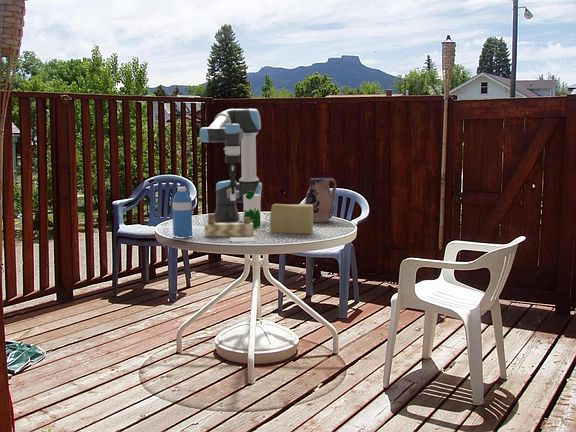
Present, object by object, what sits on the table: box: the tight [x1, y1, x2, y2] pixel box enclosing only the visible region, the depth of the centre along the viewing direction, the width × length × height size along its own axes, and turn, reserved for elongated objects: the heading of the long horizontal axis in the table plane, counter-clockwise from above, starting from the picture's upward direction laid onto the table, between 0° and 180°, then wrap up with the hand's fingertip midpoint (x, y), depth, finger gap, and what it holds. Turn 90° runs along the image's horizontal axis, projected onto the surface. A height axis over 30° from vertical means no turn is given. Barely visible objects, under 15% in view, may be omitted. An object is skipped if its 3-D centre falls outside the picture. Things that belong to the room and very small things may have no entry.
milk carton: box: [242, 191, 262, 229], centre depth 343 cm, size 9×9×20 cm
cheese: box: [269, 203, 314, 235], centre depth 326 cm, size 22×10×15 cm, turn 84°
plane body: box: [204, 213, 254, 237], centre depth 318 cm, size 24×6×11 cm, turn 95°
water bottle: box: [172, 186, 193, 237], centre depth 312 cm, size 9×9×25 cm
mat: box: [229, 236, 256, 243], centre depth 306 cm, size 12×12×1 cm
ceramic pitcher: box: [304, 177, 337, 223], centre depth 365 cm, size 18×21×25 cm
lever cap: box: [227, 189, 239, 198], centre depth 316 cm, size 6×10×4 cm, turn 5°
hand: (233, 199), depth 316 cm, fingers closed on lever cap, 10 cm apart
